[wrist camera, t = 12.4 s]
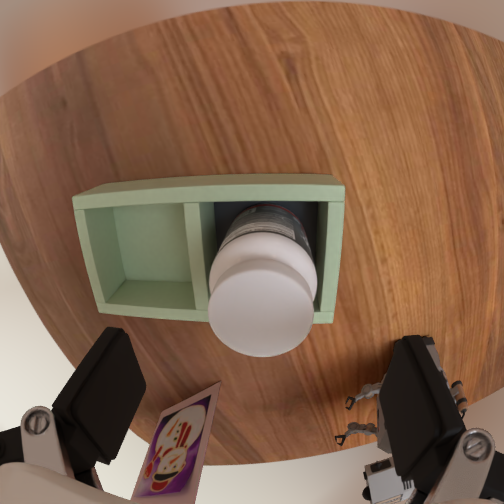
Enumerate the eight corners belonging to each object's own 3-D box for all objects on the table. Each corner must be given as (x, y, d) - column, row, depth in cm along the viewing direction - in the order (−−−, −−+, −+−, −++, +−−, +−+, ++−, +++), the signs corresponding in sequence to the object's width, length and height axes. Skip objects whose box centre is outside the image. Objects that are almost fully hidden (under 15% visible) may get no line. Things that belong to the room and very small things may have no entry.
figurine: (339, 344, 26) (367, 490, 12) (442, 332, 25) (504, 444, 11) (330, 402, 29) (342, 520, 16) (419, 389, 28) (455, 491, 15)
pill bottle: (301, 276, 23) (314, 369, 14) (228, 272, 23) (199, 361, 14) (309, 203, 20) (335, 263, 11) (228, 199, 21) (190, 255, 12)
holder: (103, 183, 22) (71, 196, 17) (331, 174, 20) (345, 185, 16) (122, 285, 25) (99, 312, 21) (324, 290, 24) (332, 323, 20)
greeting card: (215, 376, 29) (184, 505, 15) (262, 409, 31) (252, 526, 17) (156, 407, 32) (120, 504, 19) (199, 435, 34) (177, 528, 20)
